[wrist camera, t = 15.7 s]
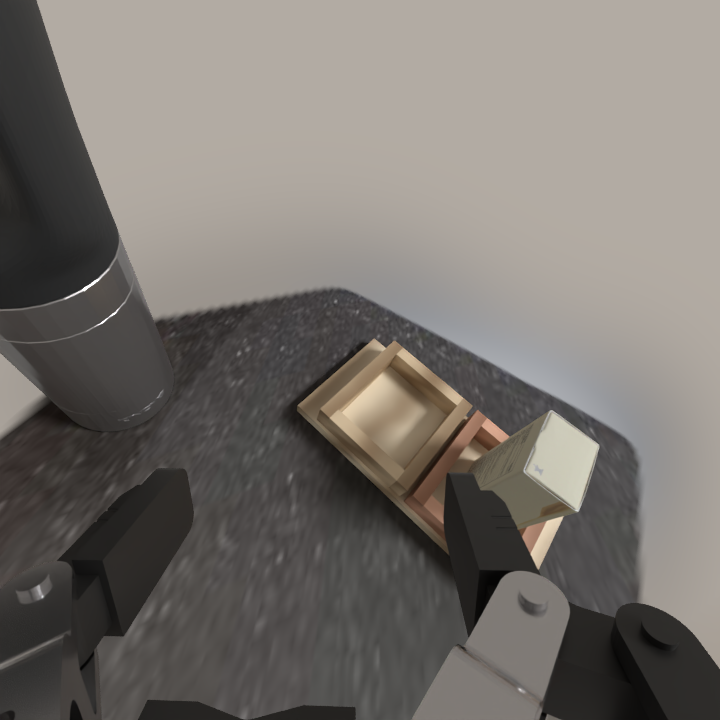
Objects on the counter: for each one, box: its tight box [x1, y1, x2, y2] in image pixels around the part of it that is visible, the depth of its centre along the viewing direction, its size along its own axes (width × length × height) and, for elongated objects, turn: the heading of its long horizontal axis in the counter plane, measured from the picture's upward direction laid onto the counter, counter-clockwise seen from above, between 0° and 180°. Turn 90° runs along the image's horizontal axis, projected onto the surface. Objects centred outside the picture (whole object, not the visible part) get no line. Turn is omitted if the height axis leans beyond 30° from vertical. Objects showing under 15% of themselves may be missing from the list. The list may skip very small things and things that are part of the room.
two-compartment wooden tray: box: [297, 339, 563, 570], centre depth 37 cm, size 26×12×4 cm, turn 49°
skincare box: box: [467, 411, 599, 529], centre depth 31 cm, size 6×4×12 cm
